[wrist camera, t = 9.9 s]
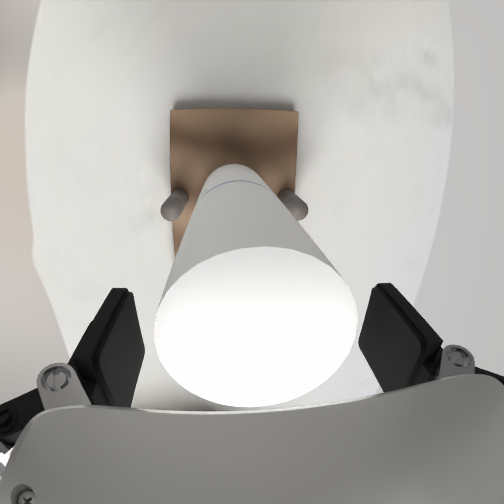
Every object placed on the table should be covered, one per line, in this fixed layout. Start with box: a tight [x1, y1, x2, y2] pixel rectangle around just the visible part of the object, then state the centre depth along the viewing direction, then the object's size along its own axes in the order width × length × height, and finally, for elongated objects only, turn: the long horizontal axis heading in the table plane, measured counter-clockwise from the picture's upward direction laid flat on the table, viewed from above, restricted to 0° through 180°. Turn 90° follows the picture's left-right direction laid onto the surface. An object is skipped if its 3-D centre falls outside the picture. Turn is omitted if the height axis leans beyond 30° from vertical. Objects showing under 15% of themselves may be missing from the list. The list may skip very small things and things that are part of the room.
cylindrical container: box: [154, 164, 358, 407], centre depth 21 cm, size 7×7×25 cm
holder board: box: [161, 108, 308, 257], centre depth 31 cm, size 20×14×8 cm
